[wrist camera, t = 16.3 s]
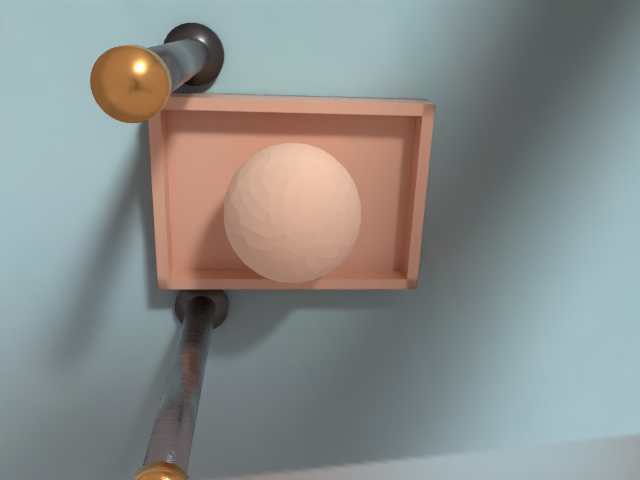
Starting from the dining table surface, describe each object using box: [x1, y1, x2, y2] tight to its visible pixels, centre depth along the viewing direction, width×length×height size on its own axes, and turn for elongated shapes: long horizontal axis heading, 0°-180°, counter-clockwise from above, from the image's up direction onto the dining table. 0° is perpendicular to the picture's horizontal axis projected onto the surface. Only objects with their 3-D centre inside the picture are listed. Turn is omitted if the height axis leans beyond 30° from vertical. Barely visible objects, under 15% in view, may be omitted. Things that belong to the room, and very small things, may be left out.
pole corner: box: [90, 23, 224, 123], centre depth 23 cm, size 3×3×15 cm
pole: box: [133, 289, 228, 480], centre depth 28 cm, size 3×3×15 cm
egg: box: [224, 143, 361, 283], centre depth 29 cm, size 7×7×8 cm
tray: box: [148, 92, 435, 289], centre depth 32 cm, size 14×10×2 cm
